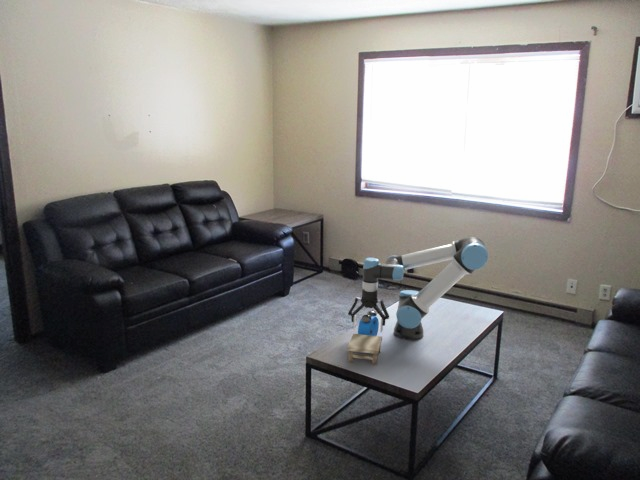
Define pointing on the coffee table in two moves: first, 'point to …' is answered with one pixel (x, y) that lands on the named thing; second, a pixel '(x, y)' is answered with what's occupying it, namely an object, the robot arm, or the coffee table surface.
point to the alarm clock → (369, 324)
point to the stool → (364, 347)
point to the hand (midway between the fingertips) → (367, 329)
